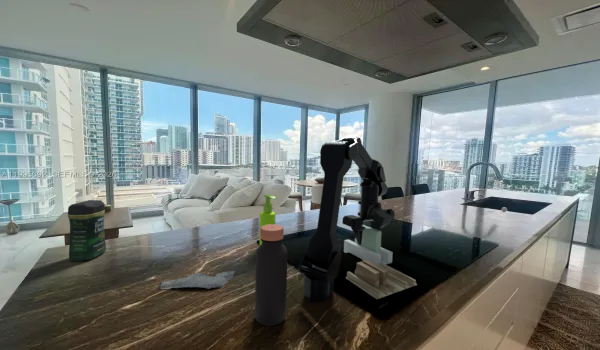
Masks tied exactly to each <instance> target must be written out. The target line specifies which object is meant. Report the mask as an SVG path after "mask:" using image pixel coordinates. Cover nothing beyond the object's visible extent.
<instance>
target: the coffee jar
mask: <svg viewBox="0 0 600 350" xmlns="http://www.w3.org/2000/svg"><path fill="white" fill-rule="evenodd" d="M105 212H106V207H105V202H104V201H102V200H97V199H94V200H93V199H90V200H85V201H84V200H83V201H81V202H77V203H72V204H70V205H69V206H68V208H67V218H68V220H69V244H68V245H69V246H68V259H69V260H70V261H73V262H74V261H75V262H83V261H88V260H92V259H95V258H97V257H99V256H100V255H103V254H104V253H106V251H107V243H106V237H105V236H106V235H105V225H104V224H105V221H104V220H105V219H104V217H105Z"/></svg>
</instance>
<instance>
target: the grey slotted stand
mask: <svg viewBox="0 0 600 350" xmlns="http://www.w3.org/2000/svg"><path fill="white" fill-rule="evenodd" d="M355 241H356V237H355V238H354V241H353V240H351V239H344V240H343V252H344V253H345V254H348V253H350V254H351V255H353V256H355V257H357V258H359V259H361V261H362V260H368V261H370V262H372V263H374V264H375V265H377V266H379V267H380V263H383V264H385V265H388V264H392V263H393V254H394V253H393V251H391V250H388V249H386V248H383V247H382V246H381V250H380V254H378V253H376V252H374V251H372V250H370V249H368V248H366V247H363V246H361V245H359V244H357V243H355Z"/></svg>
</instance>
